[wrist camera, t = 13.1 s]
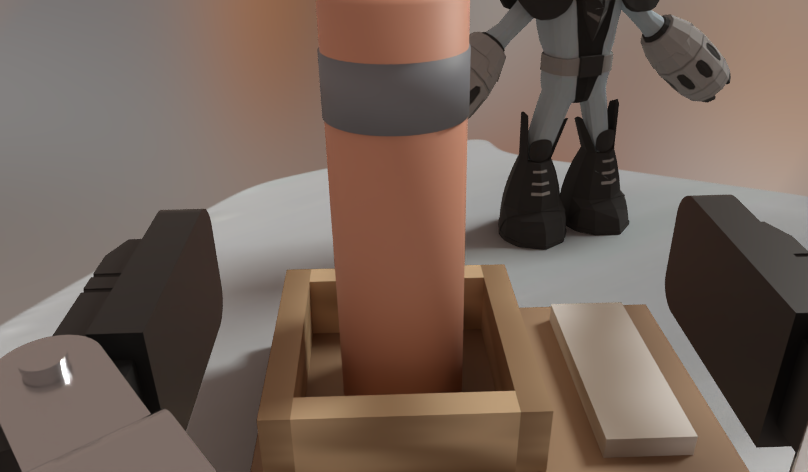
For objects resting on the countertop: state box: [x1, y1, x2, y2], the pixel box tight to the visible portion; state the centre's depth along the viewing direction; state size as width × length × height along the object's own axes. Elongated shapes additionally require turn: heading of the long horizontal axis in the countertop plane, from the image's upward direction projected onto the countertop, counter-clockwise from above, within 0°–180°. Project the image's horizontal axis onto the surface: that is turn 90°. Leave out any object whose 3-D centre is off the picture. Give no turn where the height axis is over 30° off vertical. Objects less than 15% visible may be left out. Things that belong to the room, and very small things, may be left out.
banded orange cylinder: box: [316, 0, 471, 396], centre depth 24 cm, size 4×4×14 cm
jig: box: [250, 265, 749, 472], centre depth 27 cm, size 16×10×4 cm, turn 92°
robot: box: [468, 0, 730, 249], centre depth 38 cm, size 20×5×20 cm, turn 112°
